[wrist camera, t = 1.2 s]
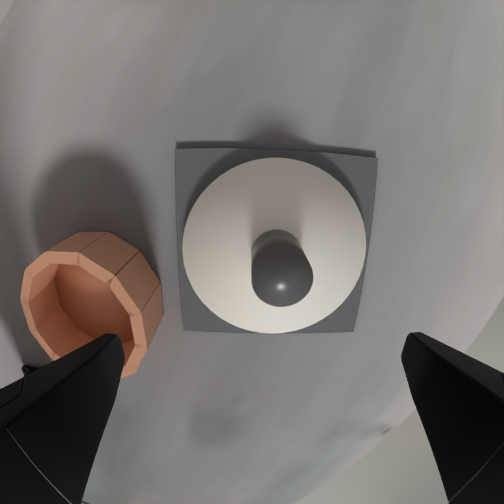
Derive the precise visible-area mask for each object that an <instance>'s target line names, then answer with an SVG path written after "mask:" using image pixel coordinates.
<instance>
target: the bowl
mask: <svg viewBox="0 0 504 504" xmlns="http://www.w3.org/2000/svg"><path fill="white" fill-rule="evenodd" d="M20 301H21V304H22V308H23V311H24V314H25V317H26V321H27V324H28V327H29V330H31V331H30V332H31V333H32V334H33V336H34V337H35V338H36V340H37V341H38V342H39V344H40V345H41V346H42V348H43V349H44V350H45V351H46V353H47V354H48V355H49V356H50V358H51V357H52V358H51V359H53V360H54V361H55V360H57V359H59V358H60V357H62V356H64V355H66V354H68V353H70V352H72V351H74V350H75V349H77V348H79V347H81V346H83V345H85V344H87V343H89V342H90V341H92V340H94V339H96V338H98V337H100V336H102V335H104V334H105V333H112V334H118V335H119V337H120V339H121V343H122V347H123V351H124V355H125V363H124V367H123V371H122V374H121V378H124V377H127V376H130V375H132V374H134V373H135V372H136V370H137V368H138V366H139V364H140V362H141V360H142V358H143V356H144V355H145V353H146V351H147V349H148V347H149V344H150V342H151V340H152V338H153V336H154V334H155V332H156V329H157V327H158V325H159V323H160V321H161V319H162V317H163V315H164V310H163V302H162V292H161V282H160V280H159V279H158V277H157V276H156V274H155V273H154V271H153V270H152V268H151V267H150V265H149V264H148V262H147V260H146V259H145V257H144V256H143V254H142V253H141V251H139V249H137V248H135V247H134V246H132V245H130V244H129V243H127V242H125V241H124V240H122V239H120V238H119V237H117V236H116V235H114V234H112V233H111V232H77V233H75V234H74V235H72V236H70V237H68V238H67V239H65V240H63V241H62V242H60V243H58V244H56V245H55V246H53V247H51V248H50V249H48V250H47V251H45V252H44V253H43V254H41V255H40V256H39V257H38V258H37V259H36V260H35V261H34V262H32V263H31V264H30V265H29V266H28V267H27V268H26V269H25V271H24V277H23V283H22V289H21V295H20ZM121 378H120V379H121Z"/></svg>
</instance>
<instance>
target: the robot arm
mask: <svg viewBox="0 0 504 504" xmlns="http://www.w3.org/2000/svg"><path fill="white" fill-rule="evenodd" d="M401 360H402V364H403V367H404V370H405V374H406V377H407V381H408V384H409V388H410V391H411V395H412V398H413V400H414V403H415V406H416V408H417V411H418V413H419V416H420V419H421V421H422V424H423V427H424V429H425V432H426V435H427V437H428V440H429V443H430V446H431V449H432V452H433V455H434V457H435V460H436V463H437V466H438V470H439V472H440V476H441V479H442V482H443V486H444V489H445V492H446V496H447V499H448V502H449V504H504V373H502V372H500V371H498V370H496V369H494V368H492V367H490V366H488V365H486V364H484V363H482V362H480V361H478V360H476V359H474V358H472V357H470V356H468V355H466V354H464V353H462V352H460V351H458V350H456V349H454V348H452V347H450V346H448V345H446V344H444V343H442V342H440V341H438V340H436V339H433V338H431V337H429V336H427V335H425V334H423V333H421V332H414V333H409V334H408V336H407V338H406V341H405V344H404V348H403V351H402V355H401ZM124 363H125V355H124V351H123V347H122V343H121V339H120V337H119V335H118V334H112V333H105V334H104V335H102V336H100V337H98V338H96V339H94V340H92V341H90V342H89V343H87V344H85V345H83V346H81V347H79V348H77V349H75V350H74V351H72V352H70V353H68V354H66V355H64V356H62V357H60V358H59V359H57V360H55V361H53V362H51V363H49V364H47V365H45V366H44V367H42V368H40V369H37V368H33V367H30V366H26V365H23V367H22V371H23V373H24V377H23V378H21V379H19V380H17V381H15V382H13V383H11V384H9V385H7V386H5V387H3V388H1V389H0V504H81V501H82V498H83V494H84V491H85V488H86V484H87V481H88V478H89V475H90V471H91V468H92V465H93V462H94V459H95V456H96V453H97V450H98V447H99V444H100V441H101V438H102V435H103V432H104V430H105V427H106V424H107V421H108V418H109V416H110V413H111V410H112V407H113V404H114V402H115V398H116V394H117V390H118V386H119V382H120V378H121V374H122V371H123V367H124Z"/></svg>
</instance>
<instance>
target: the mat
mask: <svg viewBox="0 0 504 504" xmlns="http://www.w3.org/2000/svg"><path fill="white" fill-rule="evenodd" d="M263 158H288V159H294V160H298V161H302V162H306V163H309V164H311V165H313V166H316V167H318V168H320V169H322V170H323V171H325V172H327V173H328V174H330V175H331V176H332V177H334V178H335V179H336V180H337V181H339V182H340V183H341V184H342V186H343V187H344V188H345V189H346V190H347V191H348V192H349V194H350V195H351V197H352V198H353V200H354V201H355V203H356V205H357V207H358V209H359V211H360V214H361V217H362V220H363V223H364V228H365V233H366V253H365V259H364V264H363V268H362V271H361V274H360V276H359V279H358V281H357V283H356V285H355V287H354V288H353V290H352V291H351V293H350V294H349V296H348V297H347V298H346V299H345V300H344V302H343V303H342V304H341V305H340V306H339V307H338V308H337V309H336V310H334V311H333V312H332V313H331V314H329V315H328V316H327V317H325V318H324V319H322V320H320V321H318V322H317V323H315V324H313V325H310V326H308V327H305V328H302V329H299V330H295V331H291V332H285V333H330V332H353V331H354V327H355V322H356V317H357V312H358V307H359V302H360V297H361V292H362V286H363V280H364V274H365V268H366V262H367V255H368V249H369V241H370V234H371V226H372V218H373V209H374V199H375V188H376V176H377V162H378V158H372V157H363V156H355V155H345V154H335V153H324V152H311V151H296V150H277V149H249V148H190V149H175V186H176V225H177V247H178V265H179V281H180V294H181V307H182V318H183V329H184V330H188V331H207V332H232V333H259V332H254V331H249V330H245V329H242V328H239V327H237V326H234V325H232V324H230V323H228V322H226V321H225V320H223V319H221V318H220V317H218V316H217V315H216V314H215V313H213V312H212V311H211V310H210V309H209V308H208V307H207V306H206V305H205V304H204V303H203V302H202V301H201V299H200V298H199V297H198V296H197V294H196V293H195V291H194V289H193V287H192V286H191V284H190V281H189V279H188V276H187V274H186V270H185V266H184V261H183V253H182V247H183V235H184V229H185V225H186V222H187V219H188V216H189V214H190V212H191V210H192V208H193V205H194V204H195V202H196V201H197V199H198V198H199V196H200V195H201V194H202V193H203V191H204V190H205V189H206V188H207V187H208V186H209V185H210V184H211V183H212V182H213V181H214V180H216V179H217V178H218V177H219V176H220V175H222V174H224V173H225V172H227V171H228V170H230V169H232V168H234V167H236V166H238V165H240V164H243V163H246V162H249V161H252V160H257V159H263Z"/></svg>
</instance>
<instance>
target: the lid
mask: <svg viewBox="0 0 504 504" xmlns="http://www.w3.org/2000/svg"><path fill="white" fill-rule="evenodd" d="M182 253H183V261H184V266H185V270H186V274H187V276H188V279H189V281H190V284H191V286H192V287H193V289H194V291H195V293H196V294H197V296H198V297H199V298H200V299H201V301H202V302H203V303H204V304H205V305H206V306H207V307H208V308H209V309H210V310H211V311H212V312H213V313H215V314H216V315H217V316H218V317H220V318H221V319H223V320H225V321H226V322H228V323H230V324H232V325H234V326H237V327H239V328H242V329H245V330H249V331H254V332H259V333H285V332H291V331H295V330H299V329H302V328H305V327H308V326H310V325H313V324H315V323H317V322H318V321H320V320H322V319H324V318H325V317H327V316H328V315H329V314H331V313H332V312H333V311H334V310H336V309H337V308H338V307H339V306H340V305H341V304H342V303H343V302H344V300H345V299H346V298H347V297H348V296H349V294H350V293H351V291H352V290H353V288H354V287H355V285H356V283H357V281H358V279H359V276H360V274H361V271H362V268H363V264H364V259H365V253H366V233H365V228H364V223H363V220H362V217H361V214H360V211H359V209H358V207H357V205H356V203H355V201H354V200H353V198H352V197H351V195H350V194H349V192H348V191H347V190H346V189H345V188H344V187H343V186H342V184H341V183H340V182H339V181H337V180H336V179H335V178H334V177H332V176H331V175H330V174H328V173H327V172H325V171H323V170H322V169H320V168H318V167H316V166H313V165H311V164H309V163H306V162H302V161H298V160H294V159H288V158H263V159H257V160H252V161H249V162H246V163H243V164H240V165H238V166H236V167H234V168H232V169H230V170H228V171H227V172H225V173H224V174H222V175H220V176H219V177H218V178H217V179H216V180H214V181H213V182H212V183H211V184H210V185H209V186H208V187H207V188H206V189H205V190H204V191H203V193H202V194H201V195H200V196H199V198H198V199H197V201H196V202H195V204H194V205H193V208H192V210H191V212H190V214H189V216H188V219H187V222H186V225H185V229H184V235H183V247H182Z"/></svg>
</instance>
